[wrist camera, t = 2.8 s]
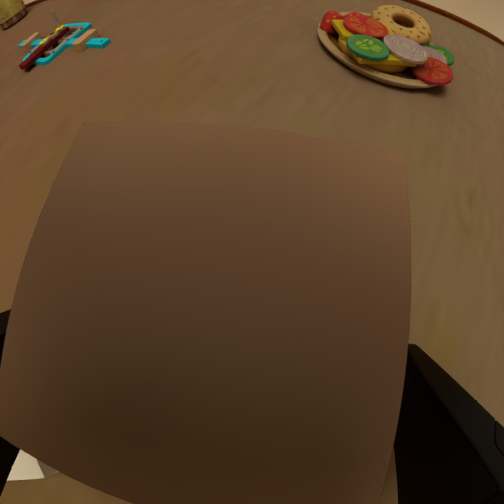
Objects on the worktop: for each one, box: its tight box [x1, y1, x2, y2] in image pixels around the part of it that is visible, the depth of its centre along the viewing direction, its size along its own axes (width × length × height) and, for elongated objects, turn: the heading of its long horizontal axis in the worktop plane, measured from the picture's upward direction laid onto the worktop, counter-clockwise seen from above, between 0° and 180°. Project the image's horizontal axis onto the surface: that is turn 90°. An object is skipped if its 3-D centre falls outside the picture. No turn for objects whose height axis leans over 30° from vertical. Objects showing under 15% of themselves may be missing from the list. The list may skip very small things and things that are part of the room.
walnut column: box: [0, 122, 411, 504], centre depth 9 cm, size 4×4×13 cm
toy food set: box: [318, 5, 454, 89], centre depth 22 cm, size 13×13×3 cm
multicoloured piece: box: [18, 9, 110, 70], centre depth 25 cm, size 20×5×9 cm
